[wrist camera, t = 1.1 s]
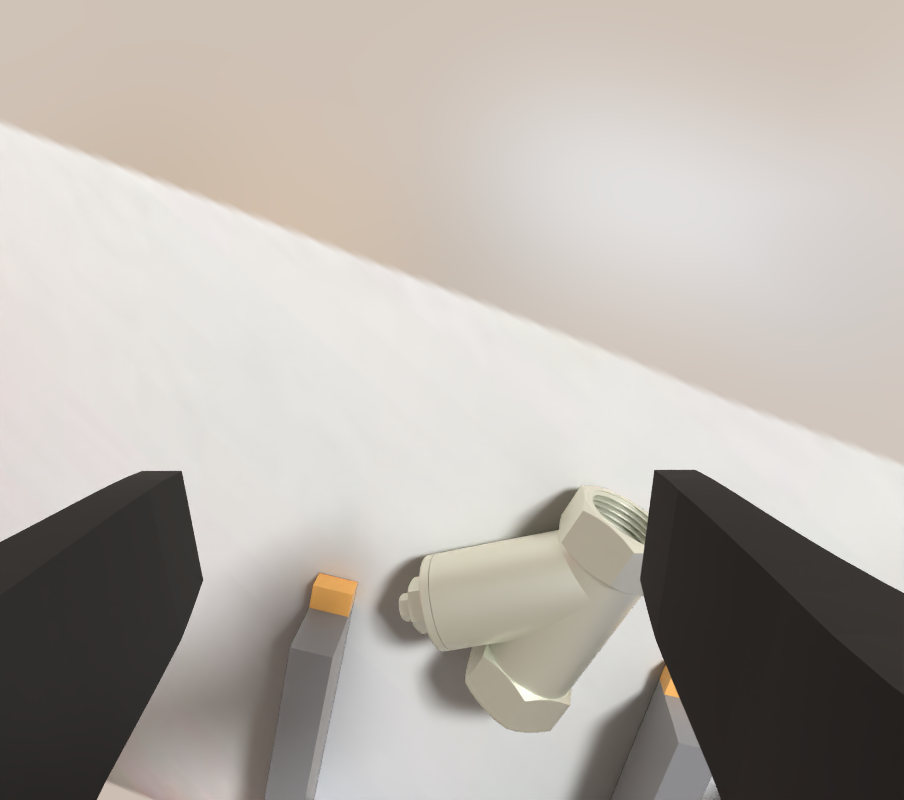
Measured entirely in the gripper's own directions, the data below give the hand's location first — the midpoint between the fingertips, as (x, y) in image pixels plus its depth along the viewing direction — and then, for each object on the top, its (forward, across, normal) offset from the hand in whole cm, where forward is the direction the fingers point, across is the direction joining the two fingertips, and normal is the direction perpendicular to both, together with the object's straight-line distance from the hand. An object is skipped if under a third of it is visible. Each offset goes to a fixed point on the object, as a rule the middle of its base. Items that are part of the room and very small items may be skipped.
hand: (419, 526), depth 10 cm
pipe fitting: (+11, -3, +9) cm, 15 cm away
